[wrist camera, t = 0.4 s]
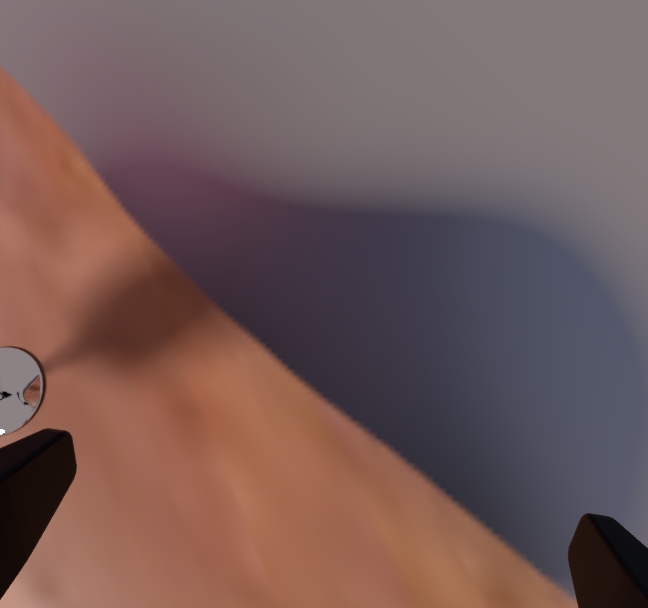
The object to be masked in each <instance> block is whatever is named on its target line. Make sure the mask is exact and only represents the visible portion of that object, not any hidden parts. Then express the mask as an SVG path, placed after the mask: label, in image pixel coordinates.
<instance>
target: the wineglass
mask: <svg viewBox="0 0 648 608" xmlns="http://www.w3.org/2000/svg"><path fill="white" fill-rule="evenodd" d="M42 394H43V376H42V372H41V369H40V367H39V365H38V364H37V362H36V361H35V359H34V358H33V357H32V356H31V355H30V354H28V353H26V352H25V351H23V350H20V349H17V348H13V347H3V348H0V436H3V435H6V434H10V433H12V432H14V431H16V430H18V429H19V428H21V427H22V426H23V425H25V424H26V423H27V422H28V421H29V420H30V419H31V417H32V416H33V415H34V413H35V412H36V410H37V408H38V406H39V404H40V402H41V398H42Z"/></svg>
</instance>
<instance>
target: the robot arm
mask: <svg viewBox="0 0 648 608" xmlns="http://www.w3.org/2000/svg"><path fill="white" fill-rule="evenodd" d="M76 469H77V464H76V458H75V452H74V445H73V439H72V436H71V434H70V433H69V432H67V431H64V430H58V429H51V428H47V429H43V430H41V431H38V432H36V433H34V434H32V435H29V436H27V437H25V438H23V439H20V440H18V441H16V442H13V443H11V444H9V445H7V446H4V447H2V448H0V600H1V598H2V597H3V595H4V594H5V592H6V591H7V589H8V588H9V587H10V585H11V584H12V582H13V581H14V579H15V578H16V576H17V575H18V574H19V572H20V571H21V569H22V568H23V566H24V565H25V563H26V562H27V560H28V558H29V557H30V555H31V553H32V552H33V550H34V548H35V547H36V545H37V543H38V541H39V540H40V538H41V536H42V534H43V533H44V531H45V529H46V527H47V526H48V524H49V522H50V520H51V519H52V517H53V515H54V513H55V512H56V510H57V508H58V506H59V505H60V503H61V501H62V499H63V498H64V496H65V494H66V492H67V490H68V489H69V487H70V485H71V483H72V482H73V480H74V477H75V475H76ZM568 562H569V567H570V572H571V576H572V581H573V585H574V590H575V594H576V599H577V603H578V608H648V548H647V547H646V546H644V545H643V544H642V543H641V542H640V541H639V540H637V539H636V538H635V537H634V536H633V535H632V534H631V533H630V532H629V531H627V530H626V529H625V528H624V527H623V526H622V525H621V524H619V523H618V522H617V521H616V520H615V519H613V518H611V517H608V516H603V515H597V514H591V513H587V514H584V515H583V516H582V517H581V519H580V521H579V524H578V526H577V528H576V531H575V534H574V536H573V538H572V541H571V543H570V546H569V549H568Z"/></svg>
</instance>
